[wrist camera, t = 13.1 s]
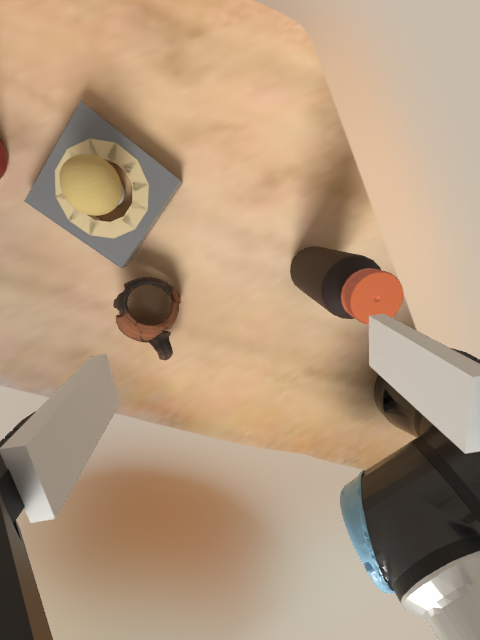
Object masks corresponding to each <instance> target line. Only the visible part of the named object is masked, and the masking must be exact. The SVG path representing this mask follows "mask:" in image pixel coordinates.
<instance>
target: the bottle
mask: <svg viewBox="0 0 480 640" xmlns="http://www.w3.org/2000/svg"><path fill="white" fill-rule="evenodd" d="M290 272H291V278H292V280H293V282H294V284H295V285H296V286H297V287H298V288H299V289H300V290H302V291H303V292H304V293H306V294H307V295H308V296H310V297H311V298H312V299H313V300H315V301H316V302H317V303H319V304H320V305H321V306H323V307H324V308H325V309H327V310H328V311H329V312H331V313H332V314H333V315H336V316H338V317H341V318H346V319H354V318H355V319H357V320H358V321H360V322H362V323H364V324H368V325H369V316H371V315H378V314H385V315H387V316H389V317H391V318H392V317H393V316H394V315H395V314H396V313H397V312H398V310H399V308H400V306H401V303H402V301H403V300H402V299H403V289H402V287H401V284H400V282H399V281H398V279H396V278H397V277H395V276H393V275H392V274H391V273H388V272H385V271H381V269H380V267H379V266H378V265H377V264H376V263H375V262H374V261H373V260H371V259H369V258H367V257H365V256H362V255H357V254H352V253H347V252H342V251H336V250H331V249H326V248H321V247H309V248H306V249H304V250H302V251H301V252H299V253H298V254H297V256H296V257H295V258H294V260H293V262H292V264H291V271H290Z"/></svg>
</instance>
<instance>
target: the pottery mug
mask: <svg viewBox="0 0 480 640" xmlns="http://www.w3.org/2000/svg"><path fill="white" fill-rule="evenodd" d="M144 284H152V285H156V286H158V287H160V288H162V289H163V290H164V291H166V292H167V294H168V295H170V296H171V299H172V304H171V312H170V314H169V316H168V317H167V318H166V319H165V320H164V321H162V322H161V323H159V324H154V325H147V324H143V323H140V322H138V321H137V320H136V319H134V318H133V317H132V315H131V314H130V312H129V310H128V307H127V300H128V296H129V294H130V293H131V291H132V290H133V289H135V288H136V287H138V286H140V285H144ZM124 286H125V290H124V292H122V293H120V294H119V295H118V297H117V298H116V299H115V300H114V308H117V309H118V310H120V311H121V312H122V313H123V314H124V315H122V316H119V315H117V316H116V323H117V325H118V327H119V329H120V330H121V332H122V333H123V334H125V335H126V336H127V337H129V338H132V339H134V340H136V341H140V342H149V343H150V344H151V345H152V346H153V347H154V349H155V350H156V351H157V353H158V355H159V359H161V360H167V359H169V358H170V357H171V356H172V354H173V351H172V347H171V344H170V341H169V336H170V334H171V333H170V332H168V331H164V329H165V328H168V329H170V328H171V326H172V325H173V323H174V321H175V320H176V317H177V314H178V311H179V304H180V303H181V301H180V298H179V296H178V294H177V292H176V291H175V290H174V288H173V287H172V286H171V285H169V284H168V283H166V282H164V281H162V280H160V279H157V278H152V277H149V278H145V277H142V278H138V279H135V280H132V281H130V282H127V283H125V284H124ZM163 331H164V332H163Z"/></svg>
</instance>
